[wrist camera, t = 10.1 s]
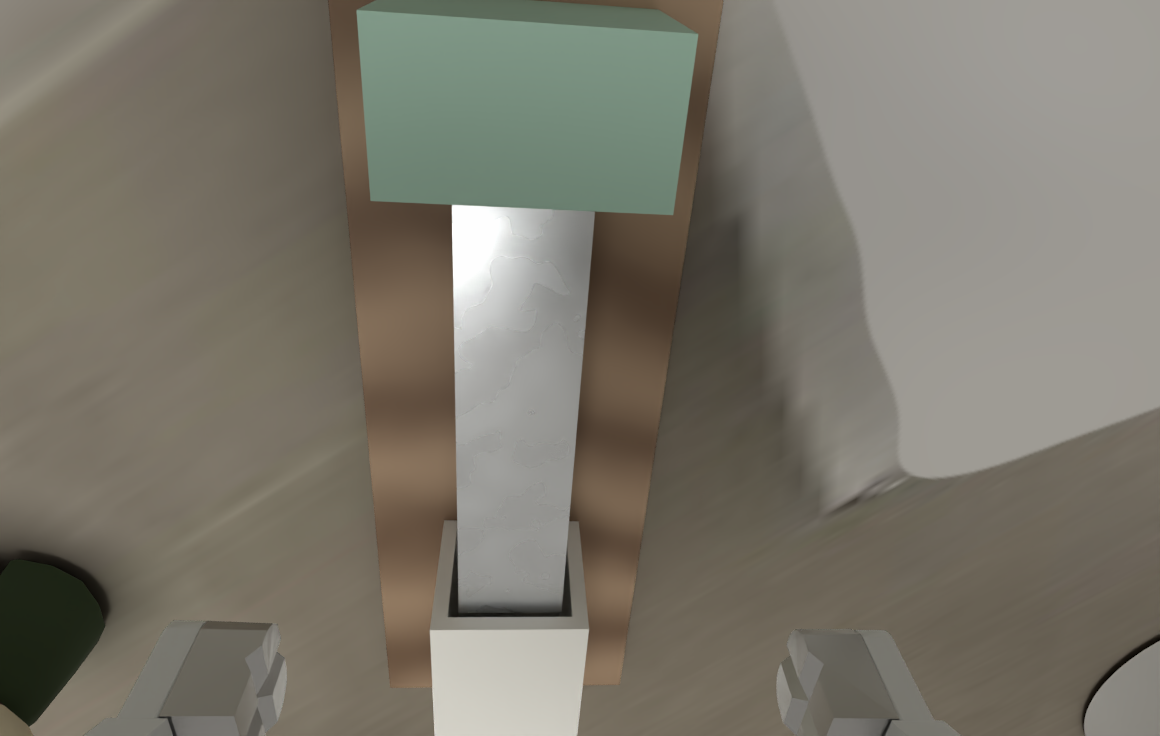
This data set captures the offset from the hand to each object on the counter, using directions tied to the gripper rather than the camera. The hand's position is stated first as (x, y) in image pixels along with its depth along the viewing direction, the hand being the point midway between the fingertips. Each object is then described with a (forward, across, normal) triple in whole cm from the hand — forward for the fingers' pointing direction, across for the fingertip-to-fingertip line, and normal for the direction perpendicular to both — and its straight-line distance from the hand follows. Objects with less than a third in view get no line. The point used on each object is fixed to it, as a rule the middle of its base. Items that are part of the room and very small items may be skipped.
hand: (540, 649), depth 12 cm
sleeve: (+17, 0, +18) cm, 25 cm away
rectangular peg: (+16, +1, +3) cm, 17 cm away
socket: (+17, +1, -6) cm, 18 cm away
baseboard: (+18, +1, +8) cm, 20 cm away
